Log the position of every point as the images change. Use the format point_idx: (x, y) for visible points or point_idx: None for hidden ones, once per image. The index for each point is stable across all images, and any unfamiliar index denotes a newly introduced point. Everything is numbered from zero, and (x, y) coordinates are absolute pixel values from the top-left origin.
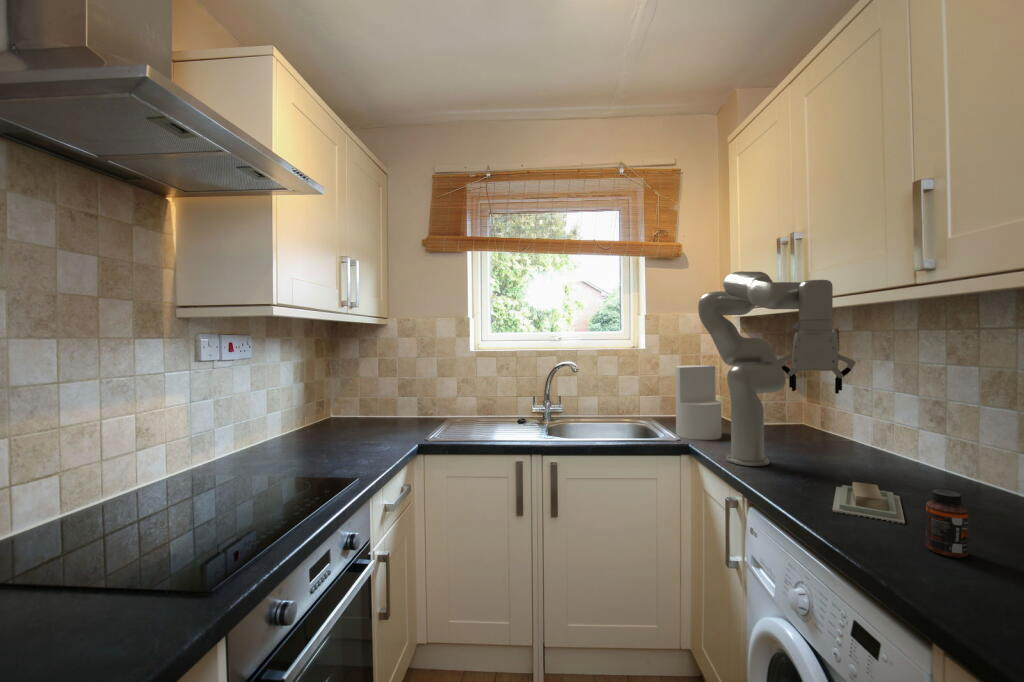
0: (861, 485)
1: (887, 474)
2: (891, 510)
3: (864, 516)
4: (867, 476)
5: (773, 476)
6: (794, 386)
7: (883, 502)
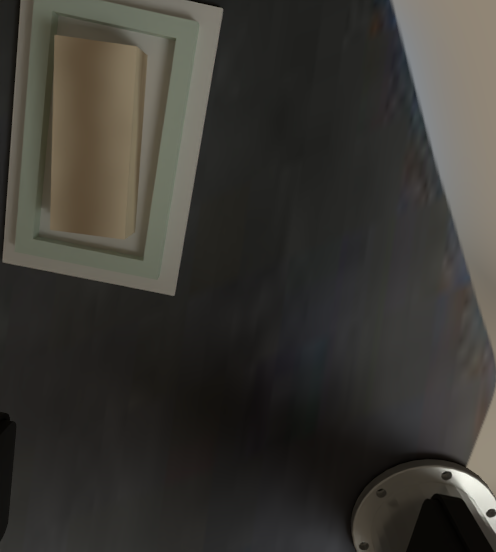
0: (101, 201)
1: None
2: (44, 26)
3: None
4: (65, 469)
5: (357, 363)
6: (453, 533)
7: None
